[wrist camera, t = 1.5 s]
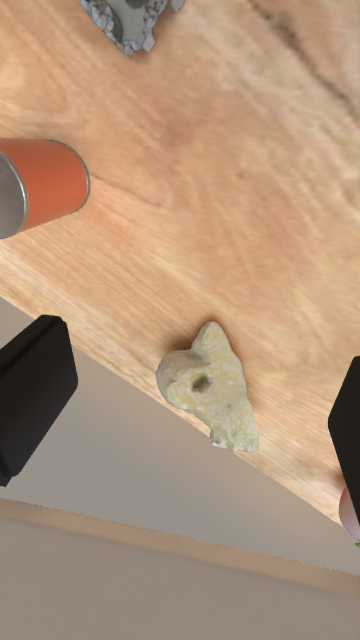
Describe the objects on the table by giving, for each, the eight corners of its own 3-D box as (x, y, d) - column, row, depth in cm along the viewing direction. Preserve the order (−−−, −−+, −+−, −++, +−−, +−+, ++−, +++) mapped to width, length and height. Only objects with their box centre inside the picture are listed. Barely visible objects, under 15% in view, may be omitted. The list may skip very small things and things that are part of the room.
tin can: (70, 128, 28) (-14, 117, 19) (101, 202, 32) (42, 224, 22) (14, 154, 31) (-86, 156, 21) (48, 221, 34) (-25, 249, 24)
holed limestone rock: (160, 313, 40) (132, 424, 38) (179, 309, 33) (146, 444, 31) (251, 340, 45) (231, 438, 43) (284, 341, 38) (262, 458, 36)
